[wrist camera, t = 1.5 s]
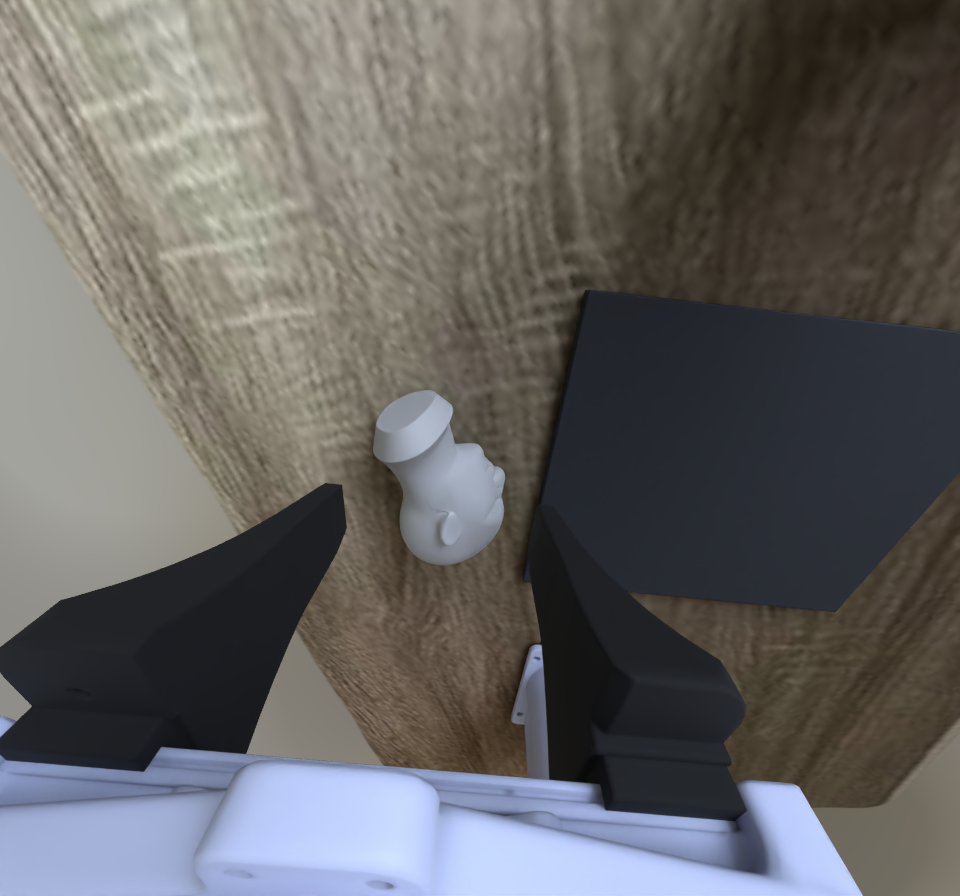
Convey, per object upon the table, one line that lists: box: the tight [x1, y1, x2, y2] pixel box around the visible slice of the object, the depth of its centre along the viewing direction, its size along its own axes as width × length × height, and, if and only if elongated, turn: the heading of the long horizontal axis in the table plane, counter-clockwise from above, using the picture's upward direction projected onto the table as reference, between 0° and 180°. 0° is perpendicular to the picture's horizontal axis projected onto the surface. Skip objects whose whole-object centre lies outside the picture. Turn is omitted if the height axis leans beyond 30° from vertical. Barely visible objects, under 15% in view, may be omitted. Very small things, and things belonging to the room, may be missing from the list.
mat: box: [522, 290, 960, 612], centre depth 16 cm, size 15×18×1 cm
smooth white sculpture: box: [373, 390, 505, 565], centre depth 15 cm, size 4×8×5 cm
